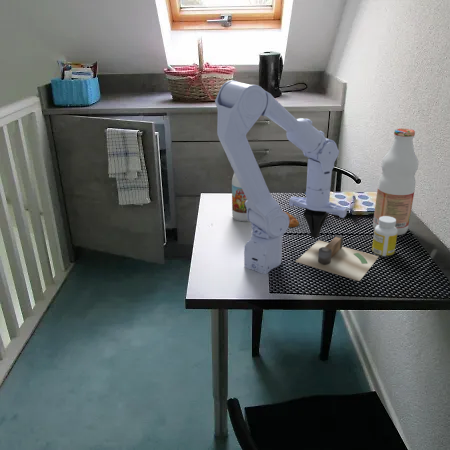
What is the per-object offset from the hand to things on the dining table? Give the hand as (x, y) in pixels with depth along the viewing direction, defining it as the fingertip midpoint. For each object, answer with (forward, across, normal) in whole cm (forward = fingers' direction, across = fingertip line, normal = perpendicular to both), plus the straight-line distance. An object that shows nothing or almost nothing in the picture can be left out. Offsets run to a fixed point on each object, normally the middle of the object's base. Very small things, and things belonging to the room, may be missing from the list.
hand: (315, 236), depth 112 cm
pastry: (+4, +15, -10) cm, 18 cm away
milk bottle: (+4, +27, -8) cm, 28 cm away
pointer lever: (+3, -5, +2) cm, 7 cm away
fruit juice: (+4, -12, -23) cm, 26 cm away
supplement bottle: (+4, -15, -7) cm, 18 cm away
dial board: (+4, -7, +3) cm, 9 cm away
